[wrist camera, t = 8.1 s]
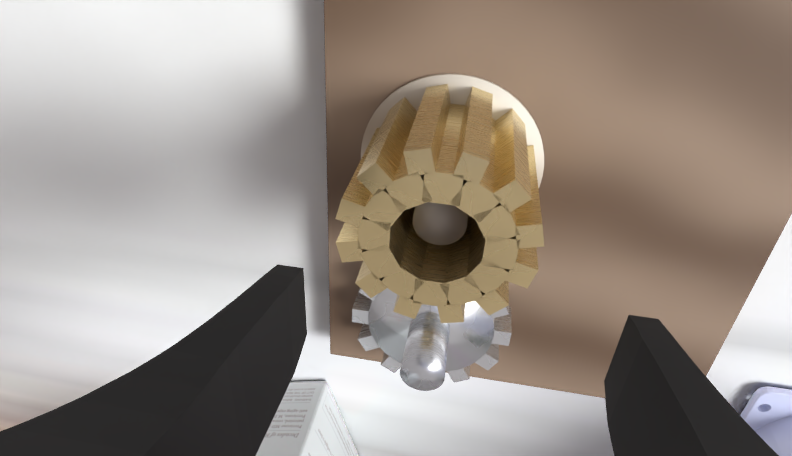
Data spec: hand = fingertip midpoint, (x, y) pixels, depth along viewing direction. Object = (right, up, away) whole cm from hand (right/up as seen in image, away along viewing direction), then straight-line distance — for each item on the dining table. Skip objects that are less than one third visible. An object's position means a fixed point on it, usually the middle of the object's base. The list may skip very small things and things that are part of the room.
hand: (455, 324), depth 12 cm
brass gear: (+1, +4, +7) cm, 8 cm away
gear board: (+4, +4, +9) cm, 10 cm away
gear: (0, -1, +11) cm, 11 cm away
